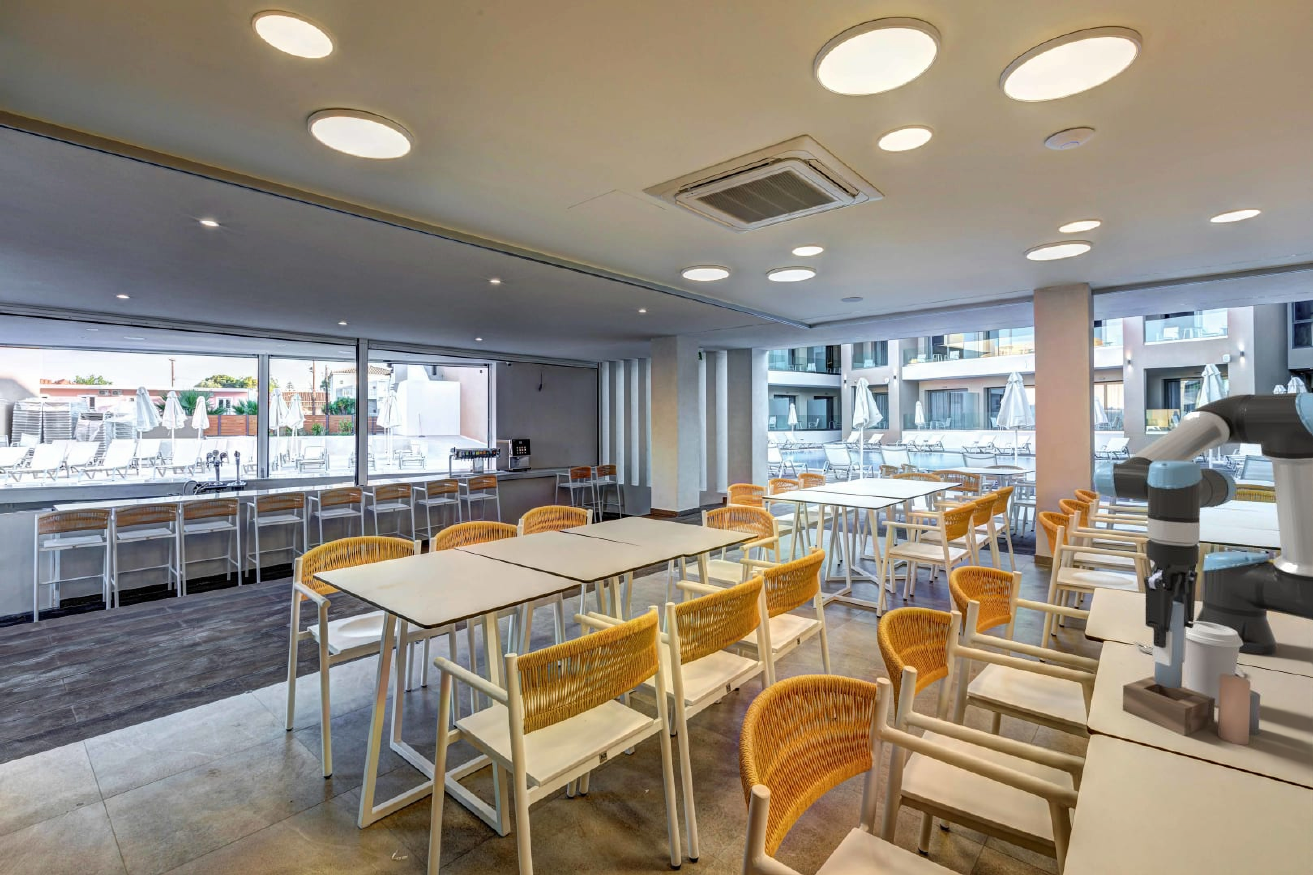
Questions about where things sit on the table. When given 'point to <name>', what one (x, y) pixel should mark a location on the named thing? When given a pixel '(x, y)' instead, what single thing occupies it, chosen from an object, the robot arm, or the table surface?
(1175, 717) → the socket block
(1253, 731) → the short dowel
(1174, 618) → the tall dowel
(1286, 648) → the table surface
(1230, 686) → the medium dowel
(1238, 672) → the silver metal utensil
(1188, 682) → the coffee cup
